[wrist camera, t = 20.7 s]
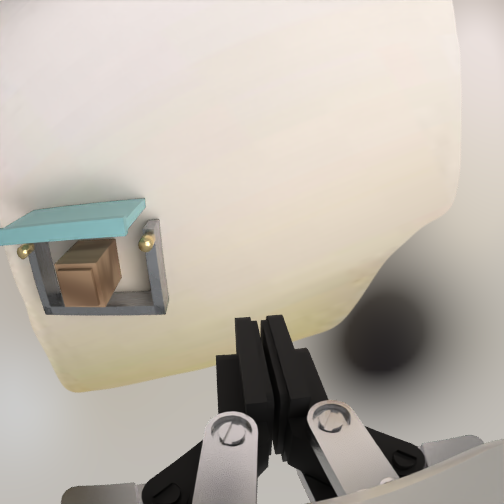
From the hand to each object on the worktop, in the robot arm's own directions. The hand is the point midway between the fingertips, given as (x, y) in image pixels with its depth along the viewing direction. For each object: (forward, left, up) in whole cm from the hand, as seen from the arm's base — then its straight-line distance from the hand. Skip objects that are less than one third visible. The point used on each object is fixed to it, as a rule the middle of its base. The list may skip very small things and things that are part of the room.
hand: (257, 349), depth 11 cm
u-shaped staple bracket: (+7, -16, -25) cm, 31 cm away
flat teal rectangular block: (0, -17, -25) cm, 30 cm away
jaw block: (+6, -16, -25) cm, 30 cm away
